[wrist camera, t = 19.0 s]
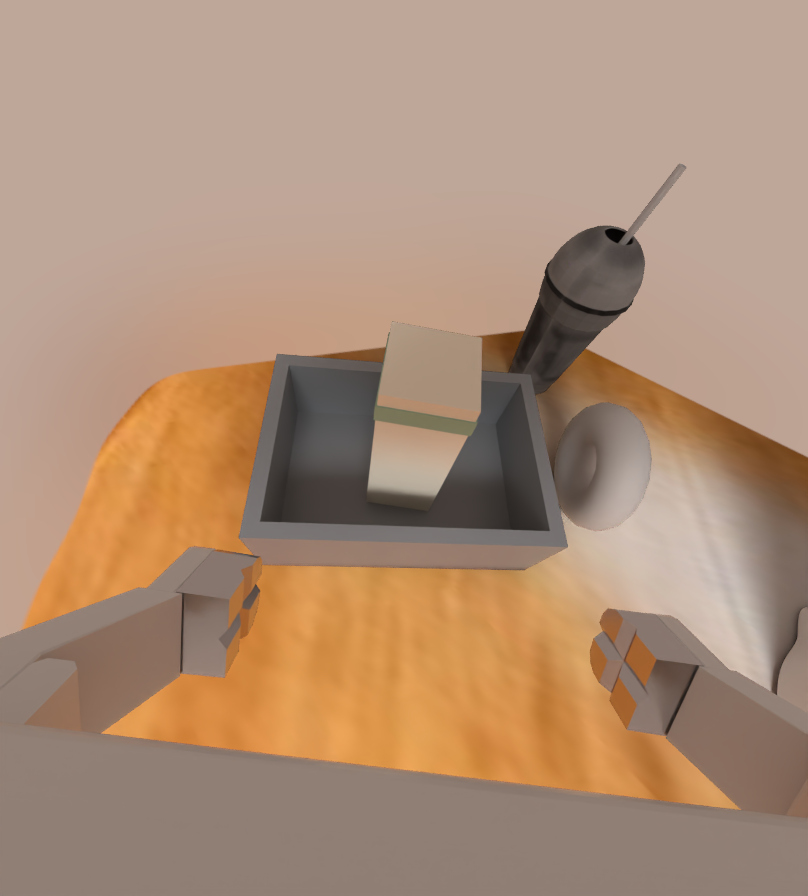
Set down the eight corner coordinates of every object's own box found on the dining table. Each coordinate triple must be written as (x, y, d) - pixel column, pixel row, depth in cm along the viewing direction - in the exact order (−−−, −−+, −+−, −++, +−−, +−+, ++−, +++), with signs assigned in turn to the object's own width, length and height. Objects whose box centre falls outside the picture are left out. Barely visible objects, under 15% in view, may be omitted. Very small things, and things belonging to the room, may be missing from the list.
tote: (500, 421, 37) (530, 374, 31) (523, 570, 30) (568, 547, 24) (289, 407, 35) (276, 353, 29) (262, 564, 28) (238, 537, 22)
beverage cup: (490, 349, 42) (592, 127, 24) (553, 352, 43) (693, 141, 25) (503, 403, 38) (632, 189, 21) (571, 405, 39) (747, 203, 22)
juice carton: (434, 455, 33) (483, 336, 21) (429, 512, 30) (482, 414, 18) (374, 446, 33) (390, 319, 21) (364, 502, 30) (375, 395, 18)
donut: (541, 440, 37) (601, 372, 28) (575, 445, 37) (646, 379, 28) (551, 543, 32) (628, 498, 23) (591, 548, 32) (682, 506, 23)
